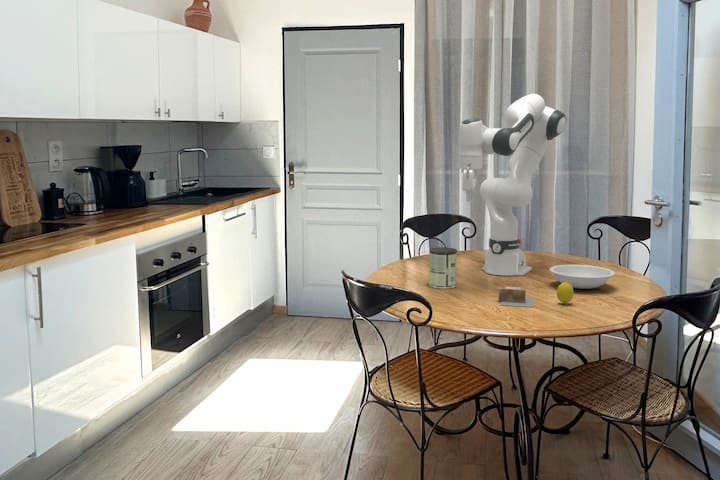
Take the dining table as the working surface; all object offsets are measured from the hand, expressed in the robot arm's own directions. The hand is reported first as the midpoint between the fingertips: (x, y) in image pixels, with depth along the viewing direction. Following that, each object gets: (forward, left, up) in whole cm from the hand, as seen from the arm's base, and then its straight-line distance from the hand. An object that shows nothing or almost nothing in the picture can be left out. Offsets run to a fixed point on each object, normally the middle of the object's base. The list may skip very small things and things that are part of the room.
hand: (469, 201), depth 278 cm
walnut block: (+8, +18, -31) cm, 36 cm away
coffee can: (+1, -10, -33) cm, 35 cm away
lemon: (-2, +38, -33) cm, 51 cm away
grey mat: (+5, +24, -33) cm, 41 cm away
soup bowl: (-31, +32, -33) cm, 56 cm away
